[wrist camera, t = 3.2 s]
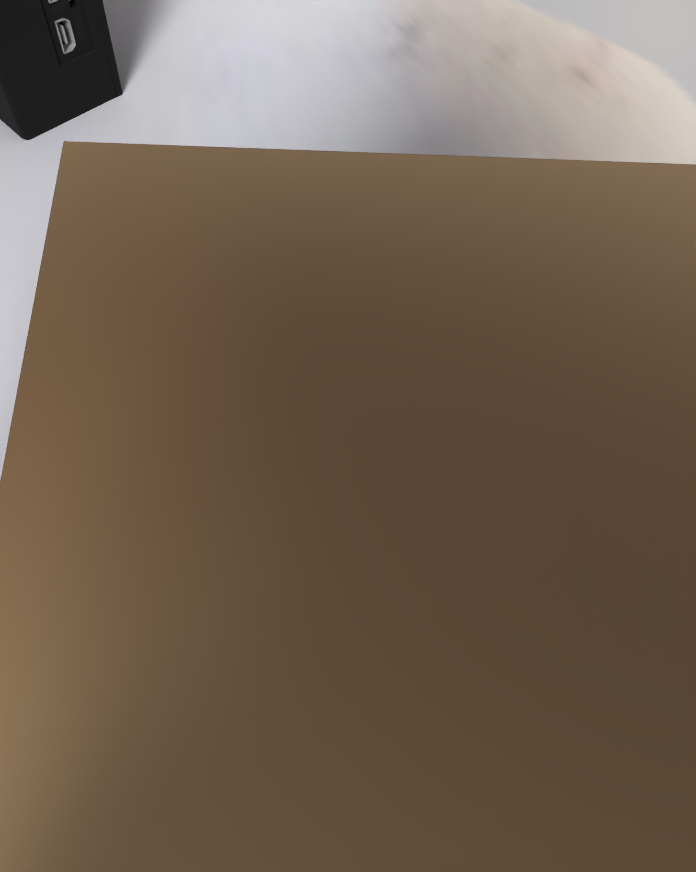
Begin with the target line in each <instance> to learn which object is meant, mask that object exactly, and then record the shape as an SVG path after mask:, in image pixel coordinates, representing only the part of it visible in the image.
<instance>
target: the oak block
mask: <svg viewBox="0 0 696 872" xmlns="http://www.w3.org/2000/svg"><path fill="white" fill-rule="evenodd" d="M0 872H696V165H692V164H665V163H638V162H611V161H583V160H556V159H529V158H502V157H475V156H448V155H420V154H393V153H366V152H339V151H312V150H285V149H257V148H230V147H203V146H176V145H149V144H122V143H94V142H67V141H64V143H63V148H62V154H61V159H60V164H59V170H58V175H57V180H56V186H55V191H54V197H53V202H52V207H51V213H50V218H49V223H48V229H47V234H46V240H45V245H44V250H43V256H42V261H41V266H40V272H39V277H38V282H37V288H36V293H35V299H34V304H33V309H32V315H31V320H30V325H29V331H28V336H27V341H26V347H25V352H24V358H23V363H22V368H21V374H20V379H19V384H18V390H17V395H16V400H15V406H14V411H13V417H12V422H11V427H10V433H9V438H8V443H7V449H6V454H5V459H4V465H3V470H2V476H1V481H0Z"/></svg>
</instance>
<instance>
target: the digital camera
mask: <svg viewBox="0 0 696 872" xmlns="http://www.w3.org/2000/svg"><path fill="white" fill-rule="evenodd" d="M121 94H122V89H121V85H120V80H119V75H118V71H117V66H116V62H115V57H114V52H113V48H112V43H111V38H110V34H109V29H108V25H107V20H106V15H105V11H104V6H103V1H102V0H0V119H1V120H2V121H3V122H4V123H5V124H6V125H8V126H9V127H10V128H11V129H12V130H13V131H14V132H16V133H17V134H18V135H19V136H20V137H21V138H23V139H25V140H29V139H32V138H34V137H36V136H38V135H40V134H42V133H44V132H46V131H48V130H50V129H53V128H55V127H57V126H59V125H61V124H63V123H65V122H67V121H69V120H71V119H73V118H75V117H77V116H79V115H81V114H83V113H85V112H87V111H89V110H91V109H93V108H95V107H97V106H99V105H101V104H103V103H105V102H107V101H109V100H111V99H113V98H115V97H118V96H120V95H121Z"/></svg>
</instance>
